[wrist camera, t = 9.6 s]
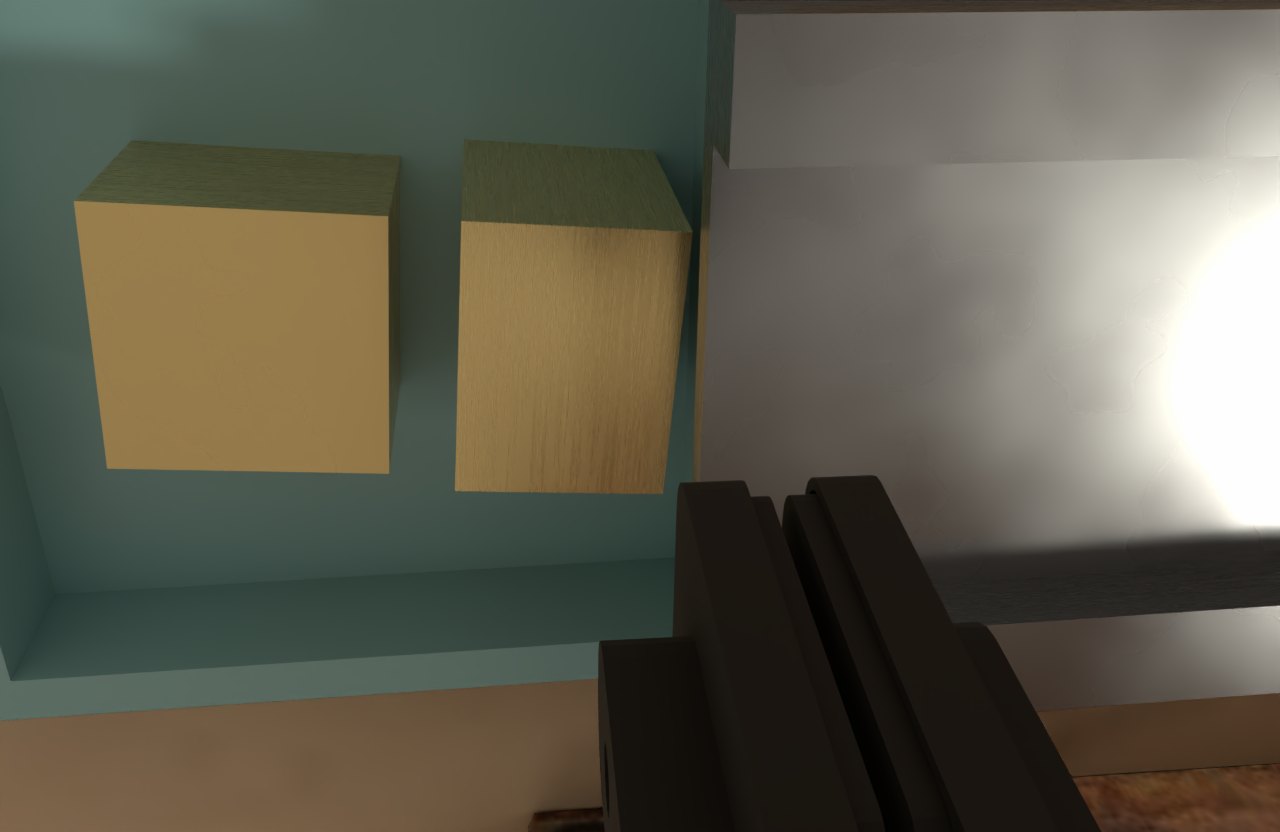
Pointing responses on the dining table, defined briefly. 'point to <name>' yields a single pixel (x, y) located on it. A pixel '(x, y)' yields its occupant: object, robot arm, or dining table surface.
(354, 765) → the dining table surface
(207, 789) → the dining table surface
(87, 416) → the tray
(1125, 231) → the grey block holder
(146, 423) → the tan wooden cube
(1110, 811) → the book
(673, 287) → the tan wooden block
